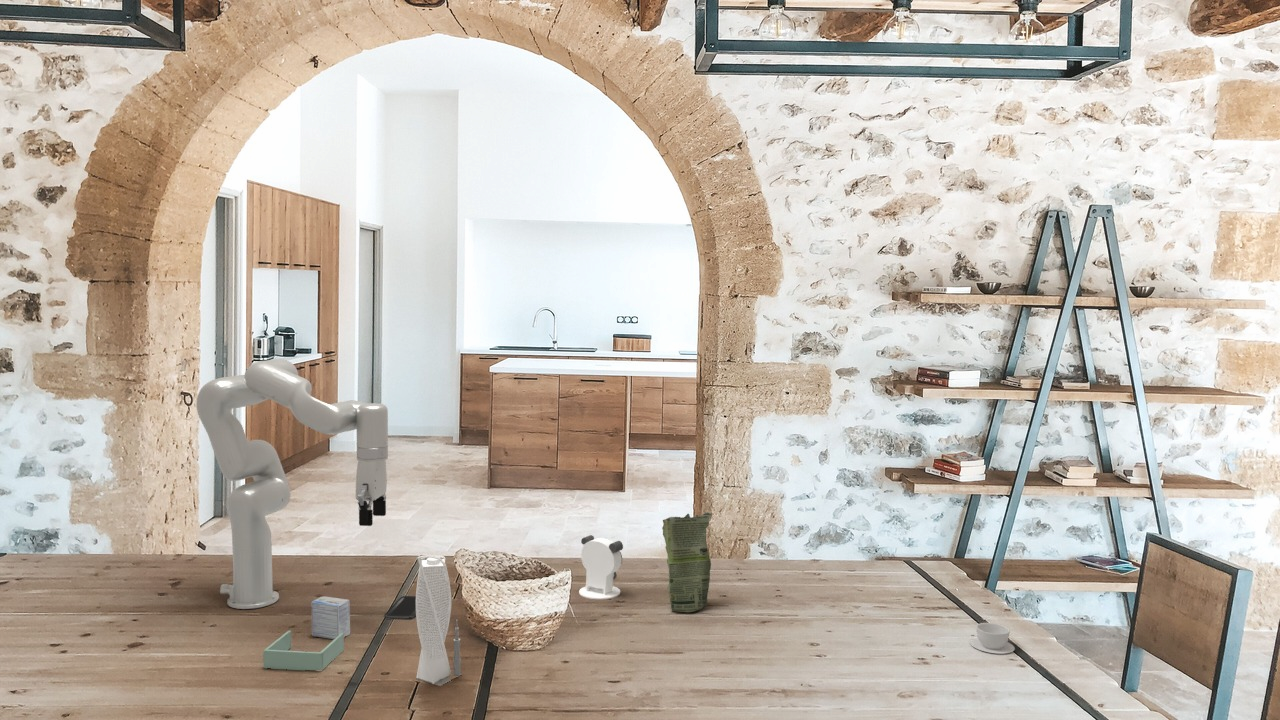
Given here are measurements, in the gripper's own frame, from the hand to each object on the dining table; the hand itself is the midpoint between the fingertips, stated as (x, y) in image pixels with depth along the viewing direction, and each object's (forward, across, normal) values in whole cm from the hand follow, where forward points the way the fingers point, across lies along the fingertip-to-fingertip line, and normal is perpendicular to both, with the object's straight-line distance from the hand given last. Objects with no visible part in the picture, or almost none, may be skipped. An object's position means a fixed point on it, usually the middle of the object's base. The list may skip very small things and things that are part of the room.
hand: (372, 520), depth 234 cm
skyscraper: (+25, +34, +26) cm, 49 cm away
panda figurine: (+25, -24, +55) cm, 65 cm away
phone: (+26, -7, +7) cm, 27 cm away
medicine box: (+25, +13, -6) cm, 29 cm away
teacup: (+24, +5, +152) cm, 154 cm away
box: (+25, +27, -6) cm, 37 cm away
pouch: (+25, -16, +79) cm, 84 cm away
